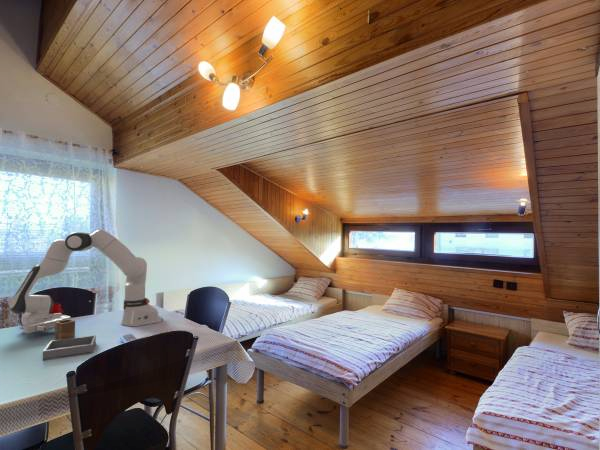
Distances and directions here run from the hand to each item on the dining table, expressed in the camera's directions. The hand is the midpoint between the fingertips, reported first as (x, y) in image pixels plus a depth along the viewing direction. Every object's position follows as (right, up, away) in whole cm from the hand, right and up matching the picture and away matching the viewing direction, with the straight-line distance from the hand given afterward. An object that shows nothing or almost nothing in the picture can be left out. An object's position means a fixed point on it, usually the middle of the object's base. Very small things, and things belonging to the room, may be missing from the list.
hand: (55, 326), depth 165 cm
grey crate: (+21, -6, -18) cm, 28 cm away
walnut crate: (+9, -6, -5) cm, 12 cm away
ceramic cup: (-23, -6, +25) cm, 34 cm away
